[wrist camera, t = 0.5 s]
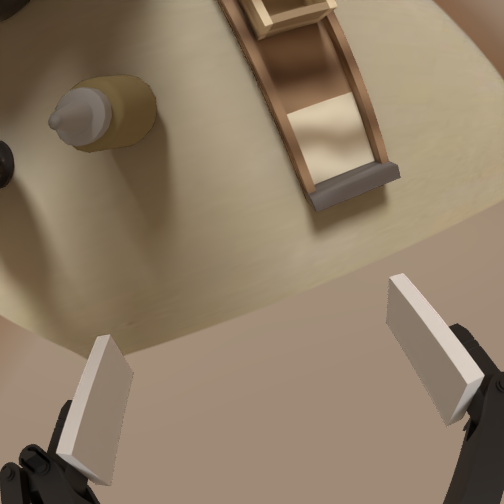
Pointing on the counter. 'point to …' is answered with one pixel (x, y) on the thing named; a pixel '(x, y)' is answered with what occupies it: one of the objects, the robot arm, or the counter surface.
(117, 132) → the squeeze bottle
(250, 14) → the crate
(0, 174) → the vase
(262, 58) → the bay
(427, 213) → the counter surface
